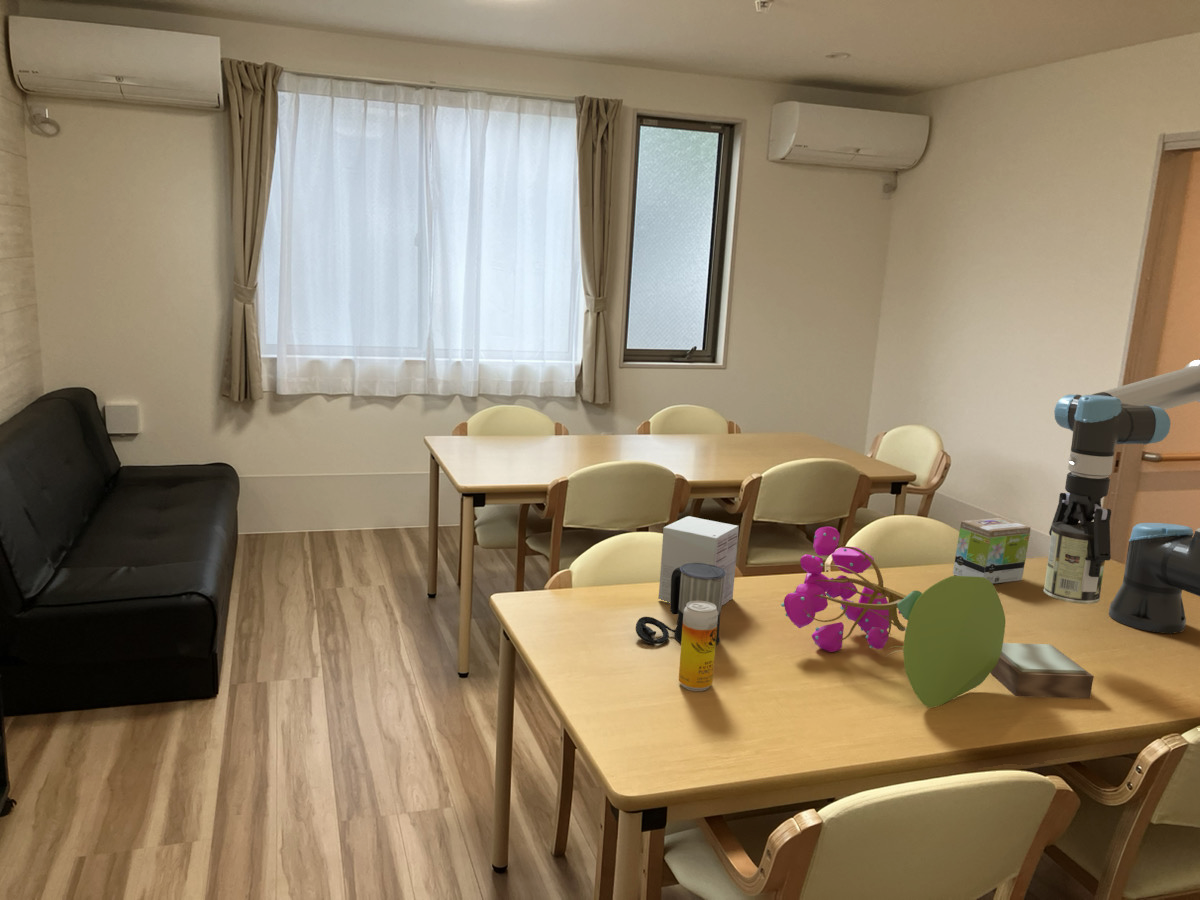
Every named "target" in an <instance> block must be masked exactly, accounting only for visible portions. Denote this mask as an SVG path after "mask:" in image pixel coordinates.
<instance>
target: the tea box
mask: <svg viewBox="0 0 1200 900" xmlns="http://www.w3.org/2000/svg"><path fill="white" fill-rule="evenodd" d="M1031 529H1032V528H1031V527H1030V526H1027V525H1025V524H1021V523H1018V522H1015V521H1012V520H1009V519H1005V518H1001V517H993V518H982V519H968V520H961V521H960V527H959V533H958V539H957V544H956V545H957V546H956V551H955V558H954V563H953V564H954V565H953V571H952V574H953V576H973V577H984V578H986V579H988V580H989V581H990V582H991V583H992V584H993V585H994V584H1001V583H1010V582H1018V581H1019V582H1021V581H1022V580H1023V576H1024V570H1025V565H1026V557H1027V551H1028V547H1029V541H1030V536H1031Z"/></svg>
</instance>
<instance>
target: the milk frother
mask: <svg viewBox="0 0 1200 900" xmlns="http://www.w3.org/2000/svg"><path fill="white" fill-rule="evenodd" d="M725 575H726V572H725V570H724V569H722V568H720V567H718V566H715V565H711V564H706V563H688V564H684V565H682V566H681V567H678V568H676V569H675V570H674V571H673V573H672V576H671V603H670V604H669V607H670V613H671V614H672V615H677V620H676V621H677V622H676V629H673V628H671V627H669V626H668V625H666V624H665V623H664V622H662V621H660V620H658V619H657V618H654V617H651V616H641V617H640V618H638V620H637V621H636V624H635V633H636V635H637V636H638V638H640V639H641V640H642V641H644V642H646V643H649V644H651V645H660V644H664V643H667V641H668V639H669V637H670V634H669V633H670V632H669V631H671V632H673V633H674V638H675V639H676V641H678V642H679V643H681V640H682V627H683V614H684V609H685V607H686V605H687V603H688V602H691V601H706V602H710V603H712V604H714V605H715V606H716V609H717V611H718V622H717V634H716V645H718V644H719V643H720V640H721V639H720V620H721V611H722V606H721V604H722V595H723V584H724V576H725ZM647 624H648V625H652V626H655V627H657V628H658V629H659V630H660V631H661V633H662V636H660V637H658V638H657V637H656V635H657V631H656V630H653V629H652V628H651V627H649V626H647Z"/></svg>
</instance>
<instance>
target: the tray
mask: <svg viewBox="0 0 1200 900" xmlns="http://www.w3.org/2000/svg"><path fill="white" fill-rule="evenodd" d="M990 675H992V676H993V677H994V678H995V679H996V680H998V682H1000V684H1002V686H1004V687H1005V688H1006V689H1007V690H1008V691H1009V692H1011V694H1013V695H1014V696H1015V697H1023V698H1050V699H1051V698H1055V699H1056V698H1059V699H1060V698H1061V699H1086V698H1087V699H1089V700H1090V699H1091V693H1092V688H1093V681H1094V677H1095V676H1094V675H1093V674H1091V673H1090V672H1088V670H1086V669H1085V668H1084V667H1082V666H1081V665H1080V664H1078V663H1077V662H1075V661H1074V660H1073V659H1071V658H1070V657H1069V656H1067V655H1066V654H1065V653H1063V652H1062V651H1060V650H1059V649H1058V648H1056V646H1054V645H1053V644H1048V643H1047V644H1046V643H1045V644H1043V643H1019V642H1013V643H1012V642H1003V646H1002V651H1001V655H1000V657H999V660H998V662H997V664H996V666H995V667H994V669H993V670H992V671H991V672H990ZM1087 699H1086V700H1087Z"/></svg>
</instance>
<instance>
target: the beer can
mask: <svg viewBox="0 0 1200 900" xmlns="http://www.w3.org/2000/svg"><path fill="white" fill-rule="evenodd" d="M717 622H718V611H717V609H716V606H715V605H714V604H712V603H710V602H706V601H691V602H688V603H687V605H686V607H685V609H684V614H683V627H682V640H681V642H680V656H679V668H678V669H679V670H678V682H679V683H680V685H681V687H682V688H684V689H687V690H688V691H693V692H703V691H706V690H708V689H710V687H711V686H712V684H713V681H714V678H713V677H714V669H715V659H716V658H715V655H716V645H717V644H716V634H717Z"/></svg>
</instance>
